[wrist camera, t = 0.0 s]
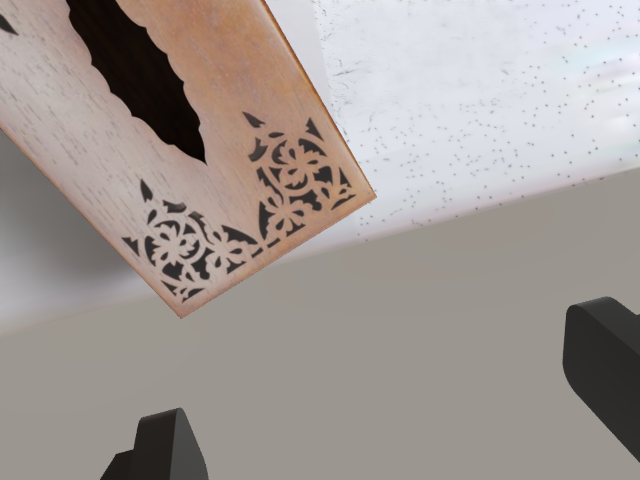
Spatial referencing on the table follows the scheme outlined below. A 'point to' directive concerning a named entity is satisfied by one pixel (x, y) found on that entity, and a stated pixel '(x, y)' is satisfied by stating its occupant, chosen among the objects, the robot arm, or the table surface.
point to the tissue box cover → (176, 134)
